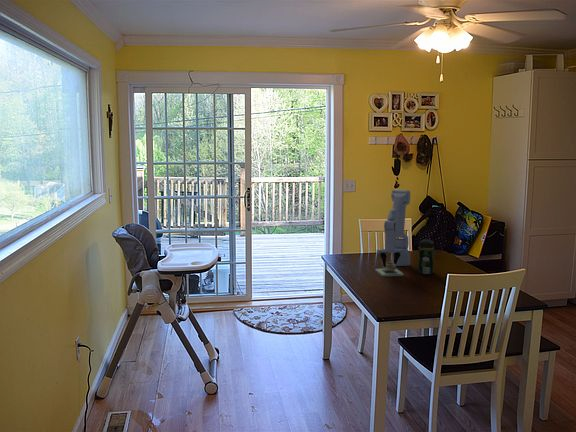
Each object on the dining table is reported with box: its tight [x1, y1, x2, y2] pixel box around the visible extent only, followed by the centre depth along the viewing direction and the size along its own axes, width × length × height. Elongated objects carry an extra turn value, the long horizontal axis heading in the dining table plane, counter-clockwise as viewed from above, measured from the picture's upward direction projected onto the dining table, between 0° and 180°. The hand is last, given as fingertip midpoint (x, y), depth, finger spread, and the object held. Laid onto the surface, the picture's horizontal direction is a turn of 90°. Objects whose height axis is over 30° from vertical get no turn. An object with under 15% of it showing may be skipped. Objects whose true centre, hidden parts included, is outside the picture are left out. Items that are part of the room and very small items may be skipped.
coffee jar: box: [417, 238, 435, 276], centre depth 281 cm, size 10×8×19 cm
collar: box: [382, 261, 397, 270], centre depth 281 cm, size 5×5×3 cm
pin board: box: [375, 268, 405, 277], centre depth 281 cm, size 12×12×5 cm
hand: (389, 266), depth 281 cm, fingers closed on collar, 5 cm apart
